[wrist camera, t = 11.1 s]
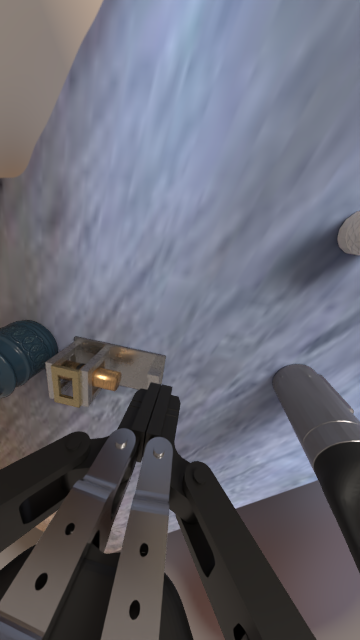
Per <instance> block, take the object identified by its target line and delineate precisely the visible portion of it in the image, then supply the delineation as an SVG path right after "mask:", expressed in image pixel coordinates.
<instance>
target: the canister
mask: <svg viewBox="0 0 360 640" xmlns="http://www.w3.org/2000/svg"><path fill="white" fill-rule="evenodd" d="M56 354H58V347H57V343H56V341H55V339H54V337H53V335H52V334H51V333H50V332H49V331H48V330H47V329H46V328H45V327H44V326H42V325H41V324H39V323H37V322H34V321H30V320H22V321H16V322H13V323H10V324H8V325H7V326H5V327H2V328H0V398H4V397H7V396H9V395H10V394H11V393H12V392H13V391H14V389H15V387H19V386H22V385H24V384H25V383H26V382H27V381H28V380H29V379H30V378H32V377H33V376H35V375H36V374H37V373H39V372H40V371H41V370H43V369H45V368H46V364H45V362H46V361H48V360H49V359H51V358H52V357H53V356H55V355H56Z"/></svg>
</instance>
